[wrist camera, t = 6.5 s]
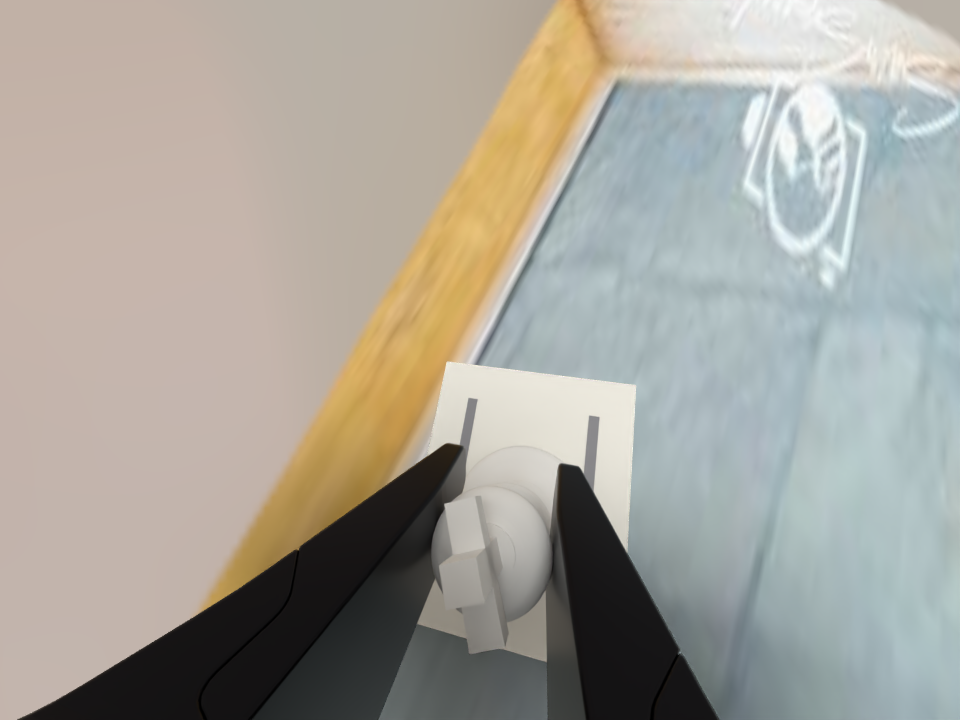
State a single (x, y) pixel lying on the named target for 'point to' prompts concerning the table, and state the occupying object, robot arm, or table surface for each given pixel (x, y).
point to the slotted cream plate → (545, 425)
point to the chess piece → (497, 543)
